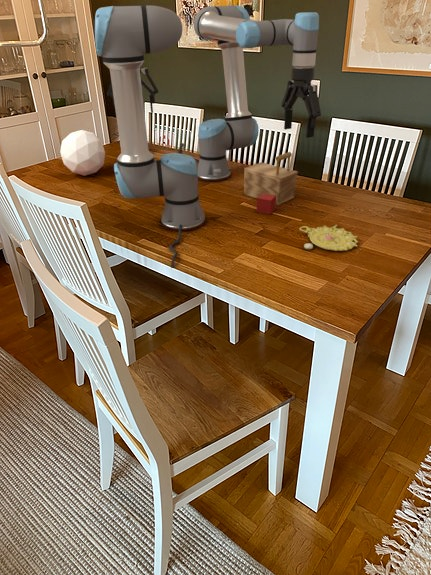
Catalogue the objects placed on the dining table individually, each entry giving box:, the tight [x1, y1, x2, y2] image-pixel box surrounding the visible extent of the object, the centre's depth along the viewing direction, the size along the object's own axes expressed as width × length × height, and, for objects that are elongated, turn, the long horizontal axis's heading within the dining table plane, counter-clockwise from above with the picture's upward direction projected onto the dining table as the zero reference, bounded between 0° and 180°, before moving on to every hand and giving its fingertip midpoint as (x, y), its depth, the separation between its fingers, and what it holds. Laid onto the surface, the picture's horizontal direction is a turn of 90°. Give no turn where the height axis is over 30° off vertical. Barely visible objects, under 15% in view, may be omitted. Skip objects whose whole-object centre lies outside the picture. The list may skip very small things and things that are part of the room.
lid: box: [243, 151, 299, 181], centre depth 167 cm, size 18×10×8 cm, turn 45°
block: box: [256, 193, 277, 215], centre depth 161 cm, size 5×5×5 cm
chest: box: [243, 170, 297, 206], centre depth 172 cm, size 17×10×10 cm, turn 45°
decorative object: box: [299, 224, 359, 252], centre depth 141 cm, size 21×2×20 cm
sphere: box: [59, 129, 106, 177], centre depth 200 cm, size 19×20×20 cm
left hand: (135, 113), depth 181 cm, fingers open, 13 cm apart
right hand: (298, 132), depth 158 cm, fingers open, 13 cm apart
